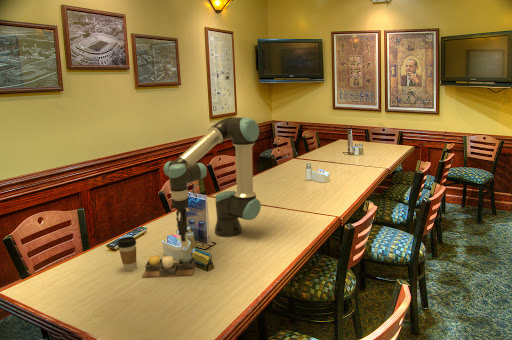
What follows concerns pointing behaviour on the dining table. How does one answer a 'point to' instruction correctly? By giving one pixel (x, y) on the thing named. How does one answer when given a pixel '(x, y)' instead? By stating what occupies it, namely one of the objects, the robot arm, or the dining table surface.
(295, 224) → the dining table surface
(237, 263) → the dining table surface
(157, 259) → the mustard button
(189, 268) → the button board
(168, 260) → the beige round cylinder
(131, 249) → the coffee cup
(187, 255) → the slate button
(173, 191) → the robot arm
